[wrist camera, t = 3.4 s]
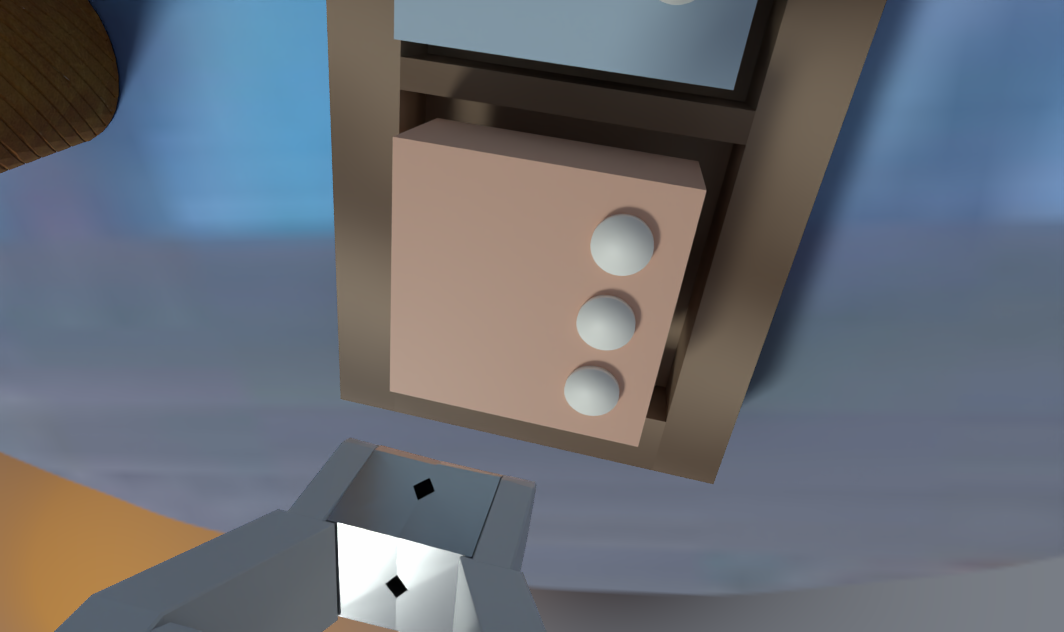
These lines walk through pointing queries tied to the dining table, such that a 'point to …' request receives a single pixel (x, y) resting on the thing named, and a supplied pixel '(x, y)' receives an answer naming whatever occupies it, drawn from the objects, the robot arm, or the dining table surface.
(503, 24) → the tile two
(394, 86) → the key frame
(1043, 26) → the dining table surface
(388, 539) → the robot arm
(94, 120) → the disposable coffee cup
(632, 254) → the tile three
